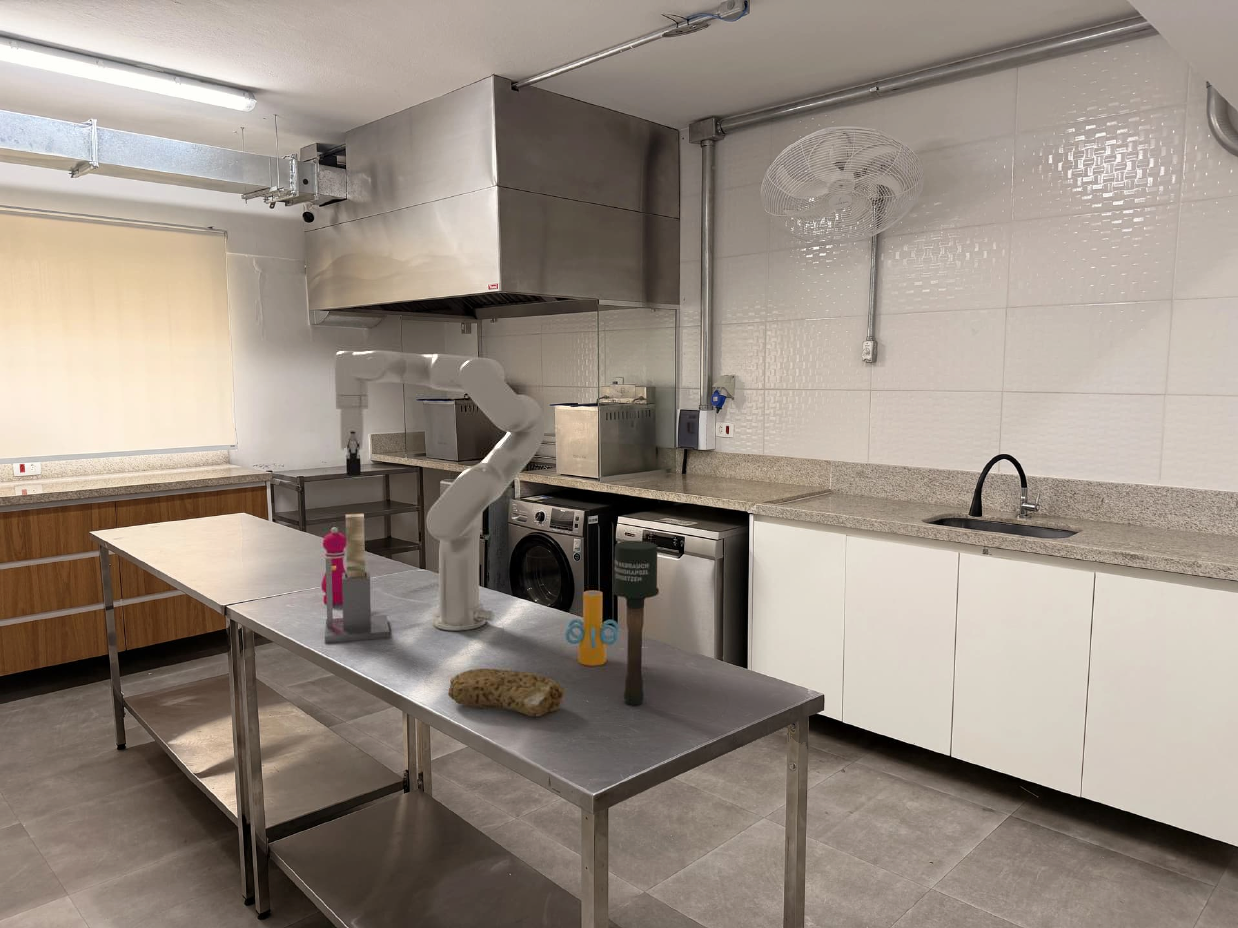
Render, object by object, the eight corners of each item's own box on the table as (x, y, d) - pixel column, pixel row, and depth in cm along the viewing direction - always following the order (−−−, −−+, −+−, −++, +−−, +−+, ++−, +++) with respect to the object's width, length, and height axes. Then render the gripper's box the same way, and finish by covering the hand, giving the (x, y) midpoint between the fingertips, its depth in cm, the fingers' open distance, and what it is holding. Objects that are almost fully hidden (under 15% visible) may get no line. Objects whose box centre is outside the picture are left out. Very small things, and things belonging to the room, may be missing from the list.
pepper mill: (354, 598, 223) (353, 525, 221) (343, 605, 216) (341, 530, 214) (329, 597, 224) (327, 524, 222) (316, 604, 217) (314, 529, 215)
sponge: (567, 711, 153) (485, 669, 163) (570, 676, 150) (487, 635, 160) (522, 749, 143) (438, 702, 152) (525, 712, 140) (438, 667, 149)
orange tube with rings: (629, 659, 178) (630, 591, 176) (604, 674, 169) (604, 602, 167) (581, 649, 184) (582, 583, 182) (554, 663, 175) (555, 594, 173)
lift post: (365, 596, 196) (363, 513, 194) (365, 601, 193) (364, 516, 191) (347, 597, 195) (345, 514, 193) (347, 602, 191) (345, 517, 189)
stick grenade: (601, 701, 154) (603, 544, 151) (633, 690, 160) (636, 538, 157) (633, 715, 148) (636, 551, 145) (666, 702, 154) (669, 544, 151)
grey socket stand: (386, 620, 204) (385, 548, 202) (389, 637, 190) (388, 561, 188) (326, 625, 199) (324, 551, 197) (324, 643, 186) (322, 564, 184)
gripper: (336, 401, 206) (337, 469, 208) (335, 404, 190) (336, 477, 192) (367, 401, 209) (368, 469, 210) (369, 404, 192) (370, 477, 194)
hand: (353, 473), depth 201 cm, fingers open, 9 cm apart
